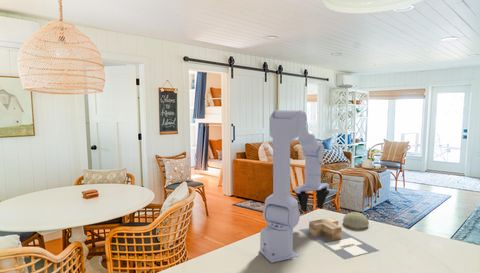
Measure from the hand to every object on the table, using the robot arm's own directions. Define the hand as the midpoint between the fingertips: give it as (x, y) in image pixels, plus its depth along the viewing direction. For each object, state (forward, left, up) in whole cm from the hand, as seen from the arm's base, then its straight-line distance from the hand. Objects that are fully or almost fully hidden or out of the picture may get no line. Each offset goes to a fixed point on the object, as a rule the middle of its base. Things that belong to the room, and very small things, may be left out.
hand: (311, 209), depth 113 cm
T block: (0, -10, -6) cm, 11 cm away
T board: (0, -14, -7) cm, 15 cm away
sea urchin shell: (+16, -6, -7) cm, 18 cm away
